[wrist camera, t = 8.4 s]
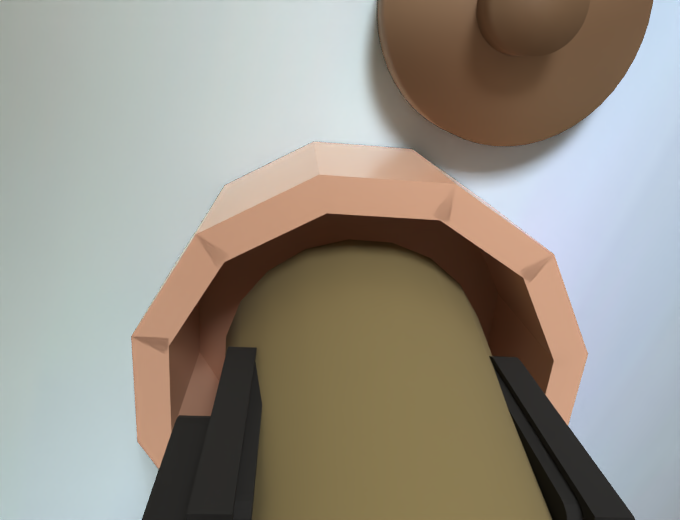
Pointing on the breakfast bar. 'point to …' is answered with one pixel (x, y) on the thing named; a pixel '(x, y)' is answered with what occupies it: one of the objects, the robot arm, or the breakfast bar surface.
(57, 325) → the breakfast bar surface
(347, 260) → the cork
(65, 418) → the breakfast bar surface
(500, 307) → the pink faceted round bowl
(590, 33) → the lid
